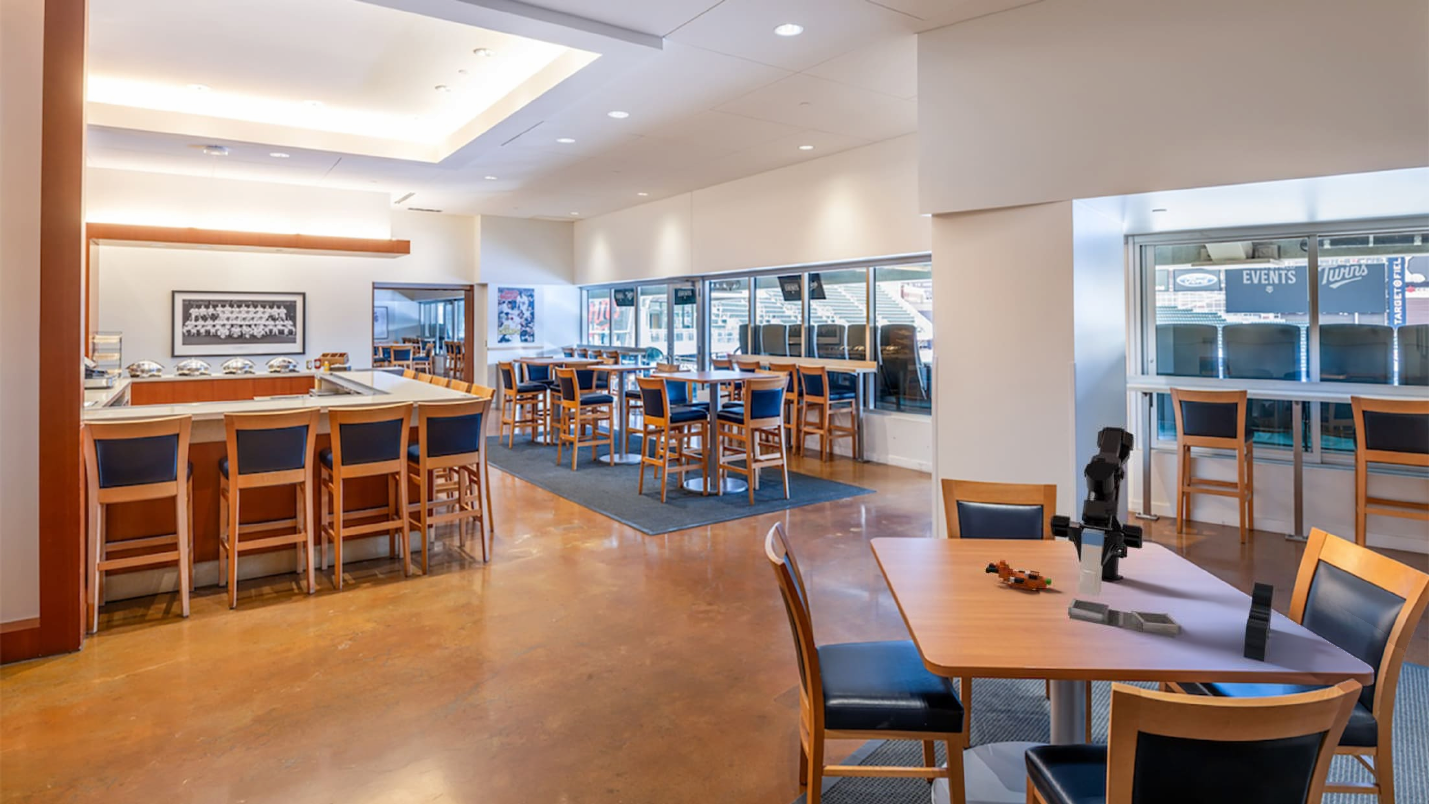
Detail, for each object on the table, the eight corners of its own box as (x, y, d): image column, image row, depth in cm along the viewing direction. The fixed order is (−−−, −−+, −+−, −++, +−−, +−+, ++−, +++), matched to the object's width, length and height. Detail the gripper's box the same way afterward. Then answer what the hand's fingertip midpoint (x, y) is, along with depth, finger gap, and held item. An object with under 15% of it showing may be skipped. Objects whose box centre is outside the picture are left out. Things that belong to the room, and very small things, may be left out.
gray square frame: (1130, 619, 164) (1131, 610, 163) (1166, 622, 162) (1167, 613, 162) (1142, 632, 156) (1143, 623, 156) (1180, 636, 155) (1181, 626, 155)
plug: (1081, 587, 168) (1084, 528, 167) (1101, 591, 166) (1104, 530, 164) (1077, 594, 164) (1081, 533, 162) (1098, 597, 161) (1102, 536, 160)
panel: (1172, 622, 162) (1172, 619, 162) (1174, 640, 153) (1175, 636, 153) (1073, 605, 172) (1073, 601, 172) (1069, 620, 163) (1069, 616, 163)
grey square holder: (1072, 607, 171) (1073, 598, 171) (1108, 614, 167) (1108, 605, 167) (1067, 617, 165) (1068, 607, 164) (1104, 624, 161) (1105, 615, 160)
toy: (991, 554, 192) (1053, 564, 184) (990, 576, 192) (1052, 587, 185) (985, 562, 185) (1049, 572, 177) (984, 585, 186) (1048, 596, 178)
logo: (1251, 625, 162) (1255, 581, 161) (1270, 629, 160) (1273, 584, 159) (1243, 660, 144) (1247, 611, 143) (1263, 665, 142) (1268, 615, 141)
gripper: (1053, 480, 171) (1042, 537, 163) (1145, 490, 161) (1138, 551, 153) (1057, 507, 179) (1047, 562, 171) (1145, 518, 168) (1138, 577, 160)
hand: (1090, 563), depth 163 cm, fingers closed on plug, 4 cm apart
